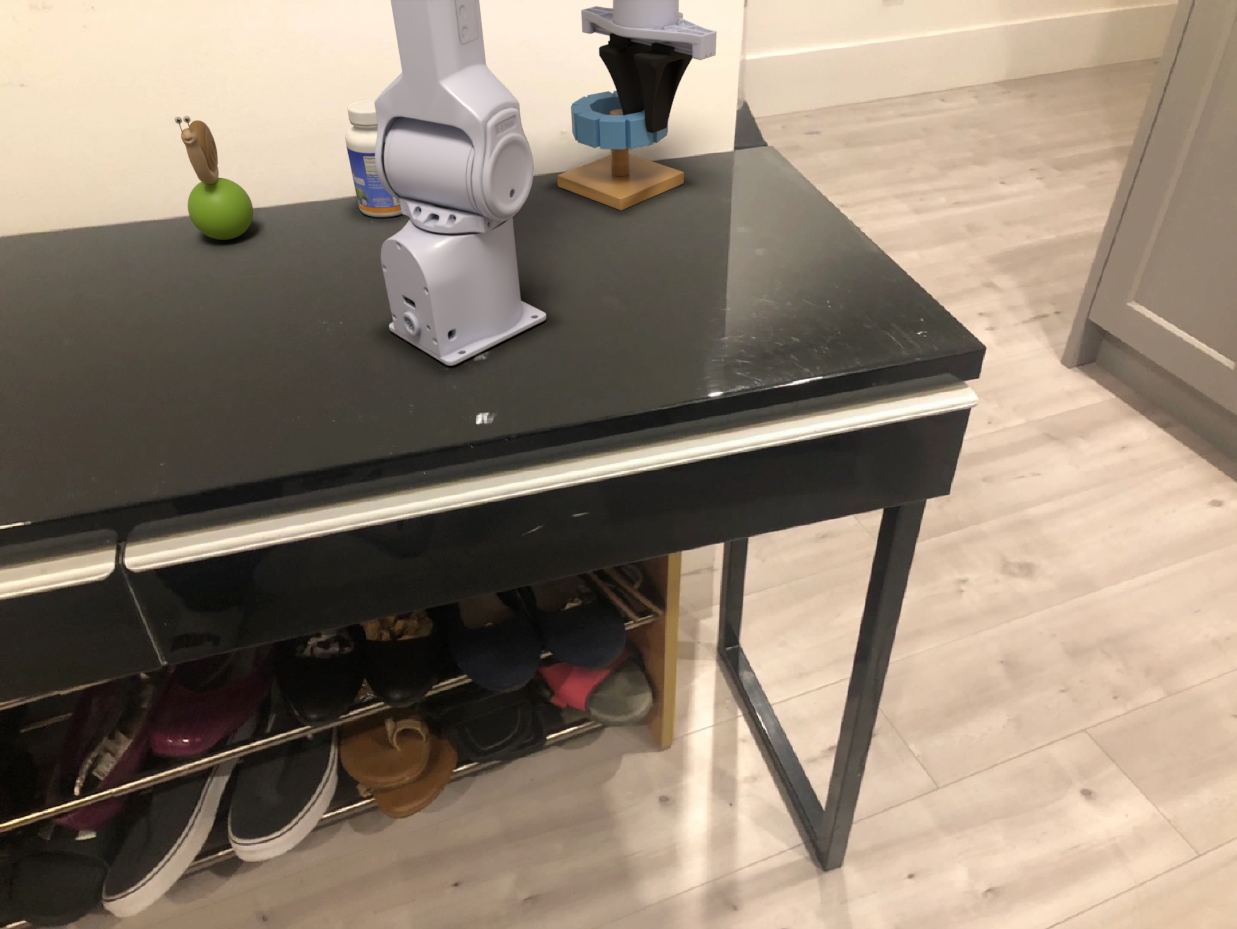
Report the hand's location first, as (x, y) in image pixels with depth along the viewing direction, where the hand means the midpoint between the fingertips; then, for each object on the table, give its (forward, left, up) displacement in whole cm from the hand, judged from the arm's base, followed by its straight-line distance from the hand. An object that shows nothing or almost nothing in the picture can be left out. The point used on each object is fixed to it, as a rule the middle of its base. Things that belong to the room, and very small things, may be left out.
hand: (646, 126), depth 86 cm
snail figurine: (-33, +22, -7) cm, 40 cm away
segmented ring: (0, +4, -1) cm, 4 cm away
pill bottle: (-19, +17, -7) cm, 26 cm away
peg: (0, +4, -7) cm, 8 cm away
